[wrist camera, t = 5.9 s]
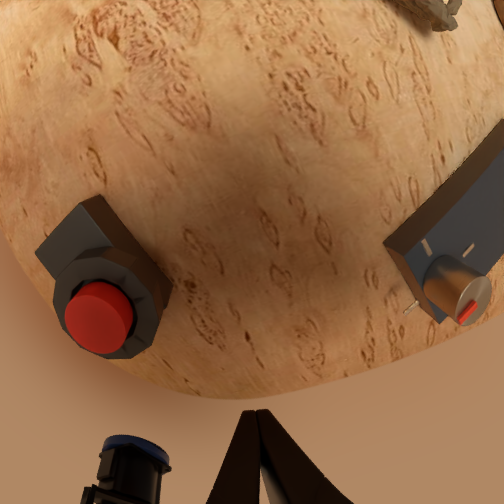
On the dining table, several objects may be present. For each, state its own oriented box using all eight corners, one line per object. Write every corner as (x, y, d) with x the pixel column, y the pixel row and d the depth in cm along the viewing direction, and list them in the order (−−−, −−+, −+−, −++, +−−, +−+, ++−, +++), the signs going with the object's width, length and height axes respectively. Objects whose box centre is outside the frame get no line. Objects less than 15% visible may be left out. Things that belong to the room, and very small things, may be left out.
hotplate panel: (501, 118, 19) (525, 119, 16) (525, 186, 21) (546, 192, 18) (361, 261, 21) (381, 278, 18) (403, 323, 24) (421, 342, 21)
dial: (449, 245, 18) (489, 266, 14) (462, 277, 19) (498, 301, 15) (416, 278, 19) (452, 306, 15) (432, 309, 20) (464, 338, 16)
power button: (146, 317, 16) (139, 334, 14) (106, 345, 16) (98, 363, 15) (102, 268, 15) (90, 282, 13) (65, 302, 15) (53, 317, 14)
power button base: (189, 287, 21) (181, 326, 16) (125, 332, 21) (107, 374, 17) (108, 186, 18) (74, 198, 13) (50, 244, 19) (13, 269, 14)
